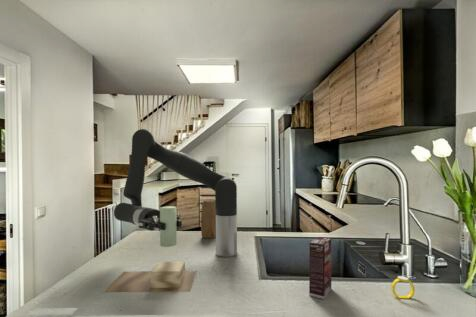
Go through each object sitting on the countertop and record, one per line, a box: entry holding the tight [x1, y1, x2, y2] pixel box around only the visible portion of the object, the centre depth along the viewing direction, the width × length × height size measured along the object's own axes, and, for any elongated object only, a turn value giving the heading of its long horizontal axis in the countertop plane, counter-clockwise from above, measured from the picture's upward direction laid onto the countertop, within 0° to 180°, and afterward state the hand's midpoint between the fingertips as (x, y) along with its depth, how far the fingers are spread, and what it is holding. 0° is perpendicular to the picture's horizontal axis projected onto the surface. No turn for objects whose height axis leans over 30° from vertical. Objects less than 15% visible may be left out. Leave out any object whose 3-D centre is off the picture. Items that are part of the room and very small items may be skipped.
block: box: [200, 198, 216, 239], centre depth 154 cm, size 11×8×20 cm
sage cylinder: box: [159, 205, 178, 248], centre depth 93 cm, size 5×5×12 cm
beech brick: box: [150, 260, 186, 288], centre depth 92 cm, size 9×9×5 cm
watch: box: [390, 275, 416, 300], centre depth 83 cm, size 6×3×6 cm, turn 84°
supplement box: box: [308, 236, 332, 300], centre depth 87 cm, size 9×5×16 cm, turn 148°
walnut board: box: [103, 270, 197, 293], centre depth 93 cm, size 26×16×1 cm, turn 91°
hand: (172, 225), depth 91 cm, fingers closed on sage cylinder, 5 cm apart
